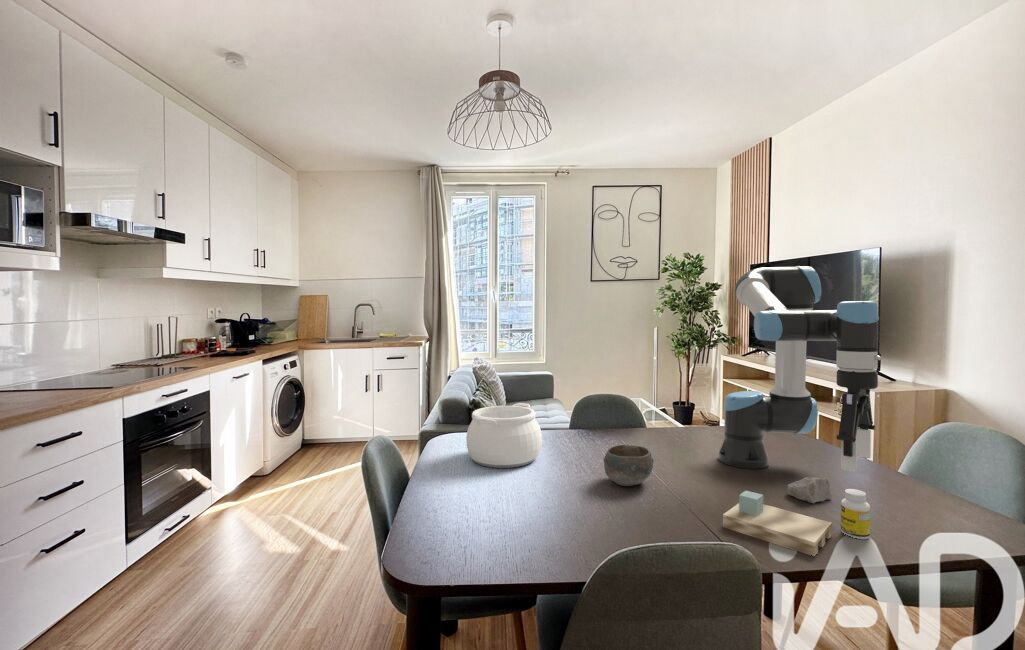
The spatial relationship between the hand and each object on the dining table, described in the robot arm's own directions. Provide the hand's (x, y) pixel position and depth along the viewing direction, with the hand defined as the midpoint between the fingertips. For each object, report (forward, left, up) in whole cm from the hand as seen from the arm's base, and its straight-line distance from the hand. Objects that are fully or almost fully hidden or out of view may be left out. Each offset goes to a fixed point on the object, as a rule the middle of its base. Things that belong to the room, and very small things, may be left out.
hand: (856, 463), depth 107 cm
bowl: (-54, -9, -17) cm, 57 cm away
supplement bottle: (0, 0, -17) cm, 17 cm away
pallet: (-13, -11, -16) cm, 24 cm away
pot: (-98, -19, -17) cm, 101 cm away
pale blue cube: (-19, -11, -13) cm, 25 cm away
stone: (-13, +16, -17) cm, 27 cm away
